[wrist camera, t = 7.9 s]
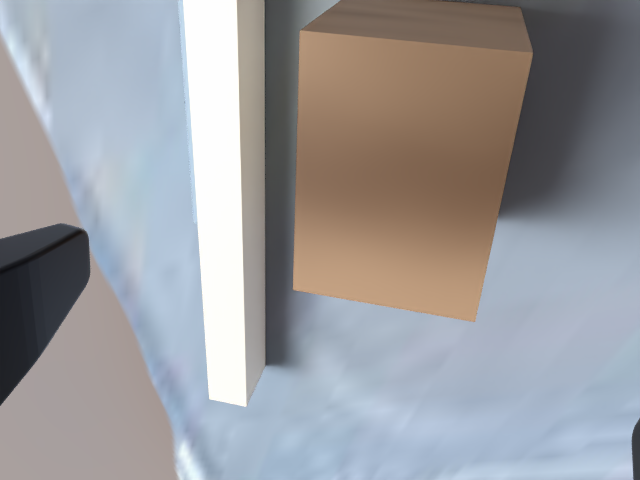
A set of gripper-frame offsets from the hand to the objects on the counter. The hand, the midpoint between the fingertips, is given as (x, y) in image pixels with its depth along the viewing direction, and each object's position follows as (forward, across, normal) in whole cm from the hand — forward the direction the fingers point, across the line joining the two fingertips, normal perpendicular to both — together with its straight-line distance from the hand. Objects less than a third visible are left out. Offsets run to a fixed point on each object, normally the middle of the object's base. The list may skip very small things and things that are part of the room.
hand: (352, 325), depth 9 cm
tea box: (+12, 0, 0) cm, 12 cm away
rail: (+12, +6, +1) cm, 13 cm away
